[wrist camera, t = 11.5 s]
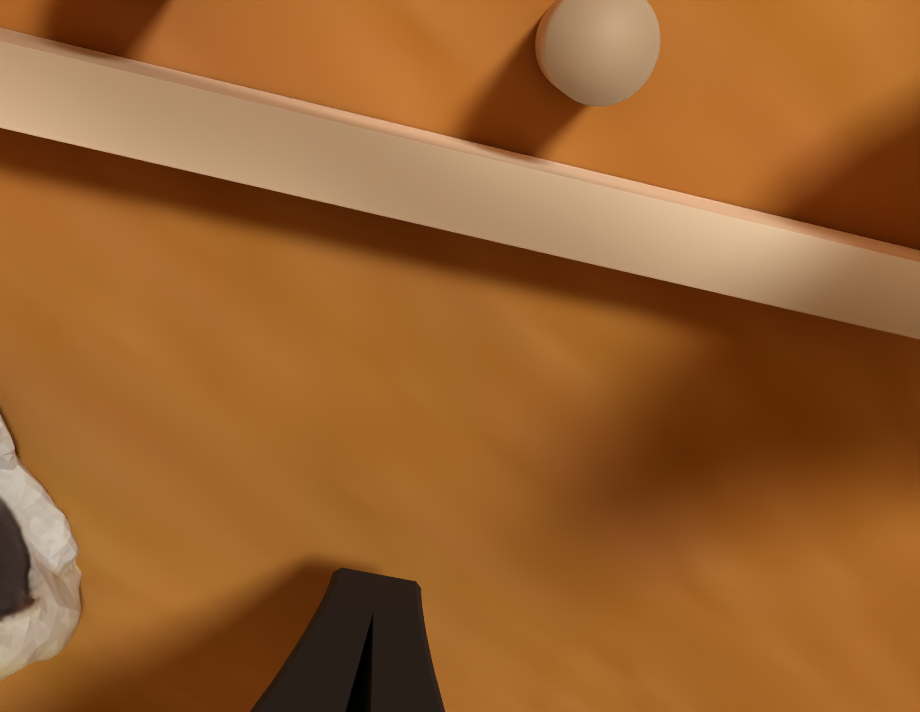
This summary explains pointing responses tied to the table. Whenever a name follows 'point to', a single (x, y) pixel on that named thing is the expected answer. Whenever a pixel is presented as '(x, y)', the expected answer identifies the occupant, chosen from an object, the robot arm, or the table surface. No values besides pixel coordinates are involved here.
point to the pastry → (33, 568)
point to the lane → (467, 169)
